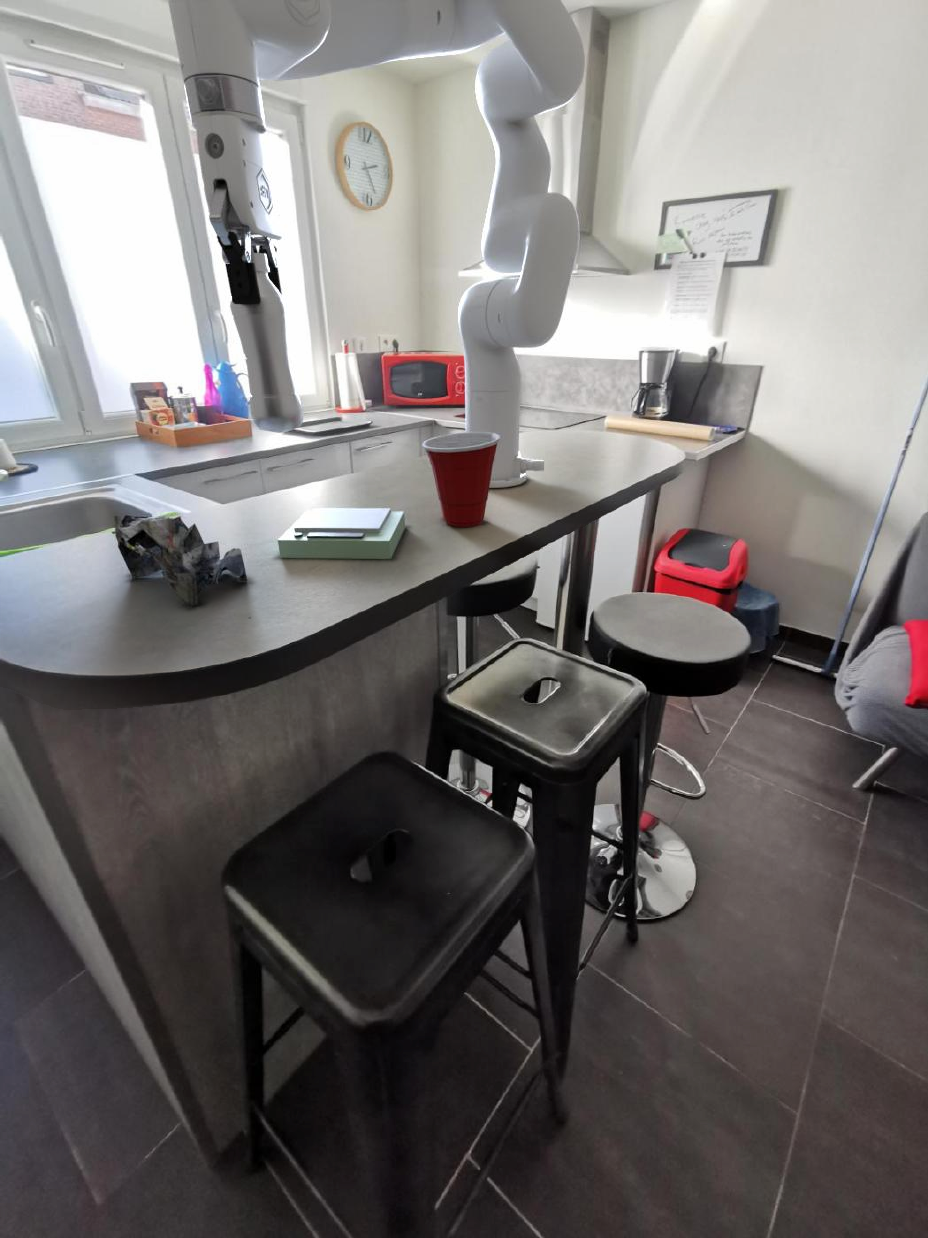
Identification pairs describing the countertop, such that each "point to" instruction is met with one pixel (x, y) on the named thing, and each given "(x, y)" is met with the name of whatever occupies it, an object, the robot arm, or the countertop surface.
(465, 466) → the plastic cup
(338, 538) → the scale
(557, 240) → the robot arm
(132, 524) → the crumpled newspaper
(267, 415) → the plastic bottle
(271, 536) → the countertop surface
